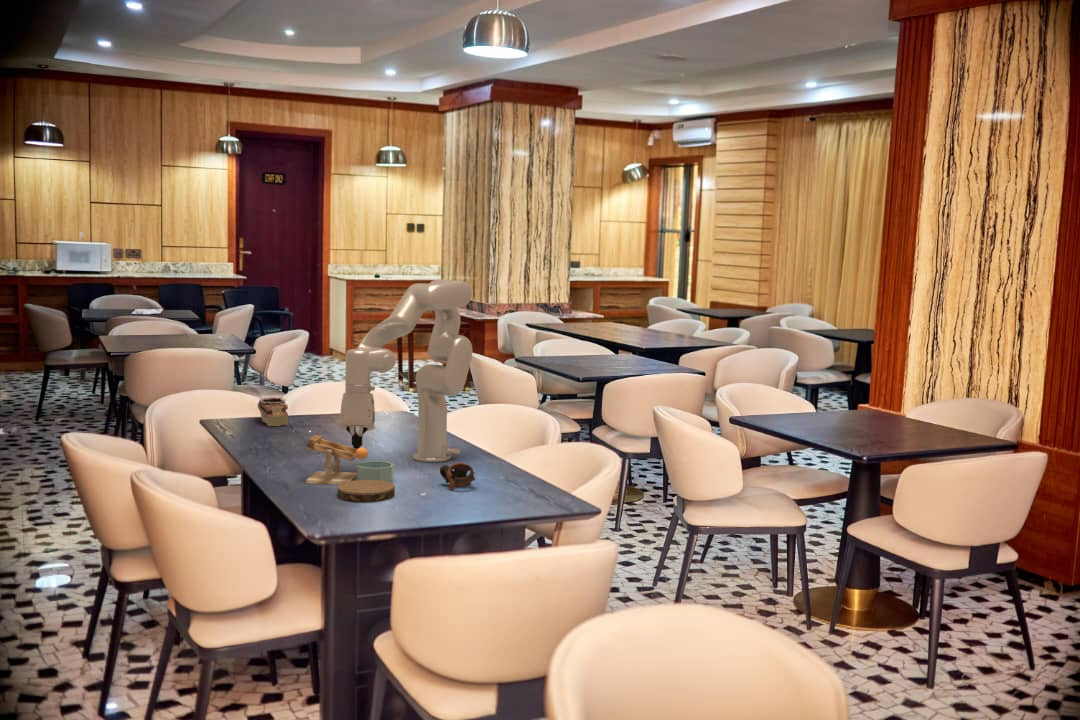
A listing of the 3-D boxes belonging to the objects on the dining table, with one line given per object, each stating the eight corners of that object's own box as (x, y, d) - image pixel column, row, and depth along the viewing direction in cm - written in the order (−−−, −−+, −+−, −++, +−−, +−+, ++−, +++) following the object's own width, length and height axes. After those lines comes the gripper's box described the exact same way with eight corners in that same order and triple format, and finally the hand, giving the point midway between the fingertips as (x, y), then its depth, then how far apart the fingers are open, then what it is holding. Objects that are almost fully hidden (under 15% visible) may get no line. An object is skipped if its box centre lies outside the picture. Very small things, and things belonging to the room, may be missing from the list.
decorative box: (253, 428, 383) (253, 403, 382) (249, 419, 402) (249, 395, 401) (288, 427, 388) (288, 402, 387) (283, 418, 406) (283, 395, 405)
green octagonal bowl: (395, 477, 306) (395, 461, 306) (389, 485, 296) (389, 468, 295) (362, 476, 307) (362, 460, 306) (354, 484, 296) (354, 467, 296)
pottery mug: (480, 486, 300) (481, 466, 295) (464, 506, 293) (465, 485, 288) (446, 472, 304) (446, 452, 299) (429, 491, 297) (429, 470, 292)
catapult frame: (358, 475, 308) (358, 443, 306) (349, 484, 296) (349, 451, 295) (316, 474, 308) (316, 442, 307) (305, 483, 296) (305, 449, 295)
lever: (362, 451, 312) (365, 442, 312) (351, 462, 297) (353, 452, 296) (319, 439, 313) (321, 430, 312) (305, 449, 297) (308, 439, 296)
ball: (365, 460, 303) (370, 449, 302) (363, 462, 299) (368, 452, 299) (355, 454, 303) (360, 444, 302) (352, 457, 299) (357, 446, 299)
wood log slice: (370, 506, 273) (370, 495, 272) (325, 498, 280) (325, 487, 280) (405, 494, 286) (406, 484, 286) (362, 487, 294) (362, 477, 294)
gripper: (384, 388, 312) (383, 446, 314) (336, 386, 313) (336, 444, 315) (379, 391, 305) (378, 451, 306) (330, 389, 305) (330, 449, 307)
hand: (356, 447), depth 311 cm, fingers closed
